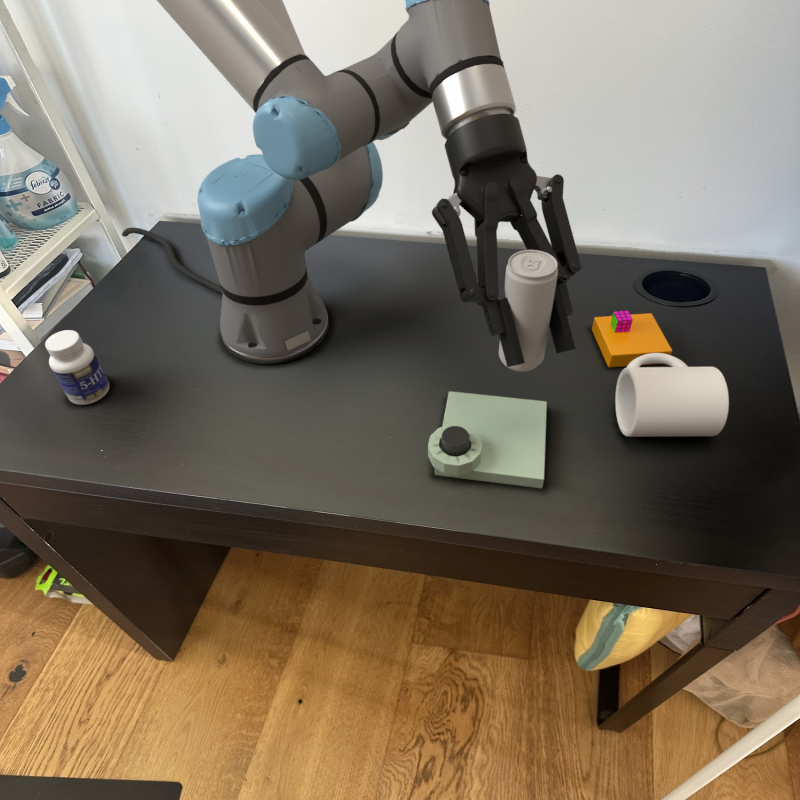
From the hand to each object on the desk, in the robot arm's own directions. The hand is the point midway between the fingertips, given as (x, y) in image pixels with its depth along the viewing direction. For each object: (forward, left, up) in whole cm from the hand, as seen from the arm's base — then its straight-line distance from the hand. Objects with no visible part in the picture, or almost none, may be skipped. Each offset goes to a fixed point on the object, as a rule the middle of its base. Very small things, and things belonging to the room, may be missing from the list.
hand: (541, 357), depth 62 cm
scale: (-3, -2, -15) cm, 15 cm away
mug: (+3, +17, -15) cm, 23 cm away
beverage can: (-4, +1, -3) cm, 5 cm away
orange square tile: (-8, +23, -15) cm, 29 cm away
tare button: (-3, -8, -12) cm, 14 cm away
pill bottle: (-38, -42, -15) cm, 59 cm away
